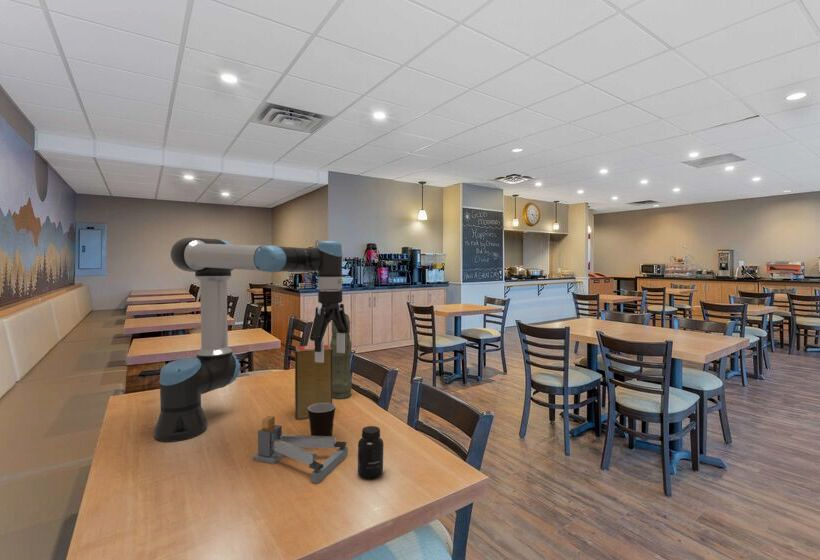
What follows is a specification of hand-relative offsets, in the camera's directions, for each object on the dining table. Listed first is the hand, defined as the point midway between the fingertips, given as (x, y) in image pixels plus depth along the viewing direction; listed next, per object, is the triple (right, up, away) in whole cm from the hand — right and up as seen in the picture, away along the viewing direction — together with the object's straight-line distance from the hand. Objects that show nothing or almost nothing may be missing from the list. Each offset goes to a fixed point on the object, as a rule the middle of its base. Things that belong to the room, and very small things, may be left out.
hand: (330, 357), depth 124 cm
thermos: (-4, -25, +43) cm, 50 cm away
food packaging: (-11, -26, +23) cm, 36 cm away
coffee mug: (-3, -27, +4) cm, 27 cm away
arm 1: (-6, -24, -18) cm, 31 cm away
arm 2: (-3, -24, -10) cm, 26 cm away
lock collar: (-16, -25, -10) cm, 32 cm away
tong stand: (-7, -27, -13) cm, 31 cm away
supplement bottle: (+15, -28, -19) cm, 37 cm away
